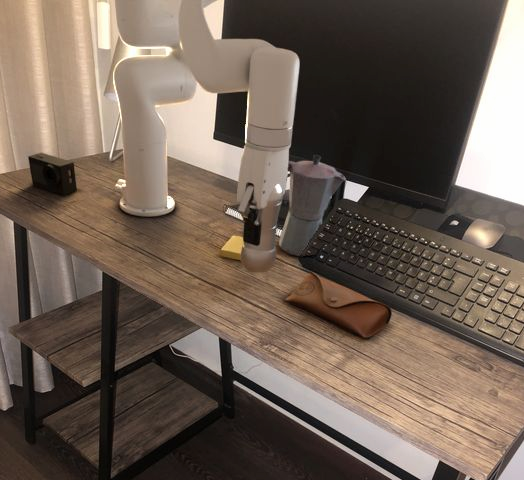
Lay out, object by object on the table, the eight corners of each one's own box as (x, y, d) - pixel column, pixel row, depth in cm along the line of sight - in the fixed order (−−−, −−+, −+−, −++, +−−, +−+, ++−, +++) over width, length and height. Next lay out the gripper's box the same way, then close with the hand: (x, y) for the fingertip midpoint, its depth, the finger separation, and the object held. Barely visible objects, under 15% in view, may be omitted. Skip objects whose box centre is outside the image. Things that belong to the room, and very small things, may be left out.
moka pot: (330, 263, 114) (347, 167, 103) (257, 251, 116) (266, 155, 104) (335, 244, 122) (351, 152, 110) (266, 233, 124) (275, 141, 112)
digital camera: (28, 186, 134) (23, 157, 130) (45, 180, 138) (41, 151, 134) (60, 197, 130) (56, 167, 126) (77, 190, 134) (73, 161, 130)
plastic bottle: (238, 259, 107) (245, 154, 95) (273, 261, 107) (284, 157, 96) (240, 276, 102) (247, 167, 90) (276, 277, 102) (288, 169, 90)
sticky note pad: (220, 256, 113) (220, 249, 112) (233, 241, 119) (233, 234, 118) (255, 263, 112) (256, 257, 111) (266, 248, 118) (267, 242, 117)
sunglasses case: (281, 299, 100) (295, 265, 99) (297, 303, 106) (311, 271, 105) (368, 340, 92) (385, 303, 91) (380, 342, 98) (396, 308, 97)
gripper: (273, 120, 98) (264, 217, 108) (220, 141, 85) (216, 248, 96) (311, 129, 95) (298, 228, 106) (263, 151, 83) (254, 261, 93)
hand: (259, 236), depth 101 cm, fingers closed on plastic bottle, 5 cm apart
